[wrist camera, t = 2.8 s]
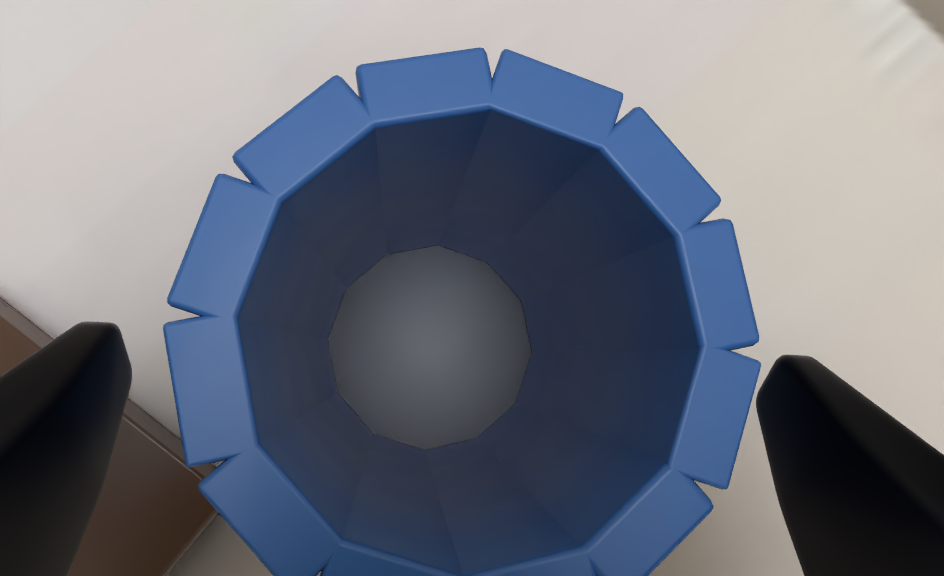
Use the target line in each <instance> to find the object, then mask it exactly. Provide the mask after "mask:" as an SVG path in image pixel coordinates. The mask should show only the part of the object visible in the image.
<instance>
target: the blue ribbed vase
mask: <svg viewBox="0 0 944 576" xmlns="http://www.w3.org/2000/svg"><path fill="white" fill-rule="evenodd" d="M356 79H357V86H358V93H359V97H358V96H357V94H356V93H355V92H354V91H353V90H352V89H351V88H350V86H349V85H348V84H347V83H346V82H345V81H344V80H343V78H341V77H339V76H337V75H336V76H333V77H332V78H330V79H329V80H328V81H327V82H325V83H324V84H323V85H321V86H320V87H319V88H317V89H316V90H315V91H314V92H312V93H311V94H310V95H308V96H307V97H306V98H305V99H303V100H302V101H301V102H299V103H298V104H297V105H296V106H294V107H293V108H292V109H290V110H289V111H288V112H287V113H285V114H284V115H283V116H281V117H280V118H279V119H278V120H276V121H275V122H274V123H272V124H271V125H270V126H269V127H267V128H266V129H265V130H263V131H262V132H261V133H260V134H258V135H257V136H256V137H254V138H253V139H252V140H251V141H249V142H248V143H247V144H245V145H244V146H243V147H242V148H240V149H239V150H238V151H236V152H235V153H234V155H233V160H234V163H235V164H236V165H237V166H238V168H239V169H240V170H241V171H242V172H243V174H244V175H245V176H246V177H247V178H248V180H249V181H250V182H251V183H249V182H246V181H243V180H240V179H237V178H235V177H232V176H229V175H226V174H218V175H217V176H216V178H215V180H214V182H213V185H212V187H211V190H210V193H209V195H208V198H207V200H206V203H205V205H204V208H203V210H202V213H201V215H200V218H199V220H198V223H197V225H196V228H195V230H194V233H193V235H192V238H191V240H190V243H189V245H188V248H187V250H186V253H185V255H184V258H183V260H182V263H181V265H180V268H179V270H178V273H177V275H176V278H175V280H174V283H173V285H172V288H171V290H170V293H169V295H168V298H167V302H168V304H169V305H171V306H172V307H175V308H178V309H181V310H184V311H187V312H190V313H193V314H196V315H199V317H194V318H189V319H183V320H178V321H173V322H167V323H166V324H164V326H163V331H164V337H165V343H166V349H167V355H168V361H169V367H170V373H171V379H172V385H173V391H174V397H175V403H176V409H177V415H178V421H179V427H180V434H181V440H182V446H183V452H184V458H185V463H186V465H187V467H195V466H200V465H205V464H209V463H214V462H219V461H223V460H225V461H224V462H223V463H221V464H220V465H219V466H218V467H217V468H216V469H215V470H213V471H212V472H211V473H210V474H209V475H208V476H206V477H205V478H204V479H203V480H202V481H201V482H200V483H199V485H198V488H199V491H200V492H201V493H202V495H203V496H204V497H205V498H206V499H207V500H208V501H209V503H210V504H211V505H212V506H213V507H214V508H215V509H216V511H217V512H218V513H219V514H220V515H221V516H222V517H223V519H224V520H225V521H226V522H227V523H228V524H229V525H230V527H231V528H232V529H233V530H234V531H235V532H236V533H237V535H238V536H239V537H240V538H241V539H242V540H243V541H244V543H245V544H246V545H247V546H248V547H249V548H250V549H251V551H252V552H253V553H254V554H255V555H256V556H257V557H258V559H259V560H260V561H261V562H262V563H263V564H264V565H265V567H266V568H267V569H268V570H269V571H270V572H271V573H272V575H273V576H316V575H317V574H318V573H319V572H320V571H321V574H320V576H648V575H649V574H650V573H651V572H652V571H653V570H654V569H655V568H656V567H657V566H658V565H659V564H660V563H661V562H662V561H663V560H664V559H665V558H666V557H667V556H668V555H669V554H670V553H671V552H672V551H673V550H674V549H675V548H676V547H677V546H678V545H679V544H680V543H681V542H682V541H683V540H684V539H685V538H686V537H687V536H688V535H689V534H690V533H691V532H692V531H693V529H694V528H695V527H696V526H697V525H698V524H699V523H700V522H701V521H702V520H703V519H704V518H705V517H706V516H707V515H708V514H709V513H710V512H711V511H712V509H713V505H712V502H711V500H710V499H709V497H708V496H707V495H706V494H705V493H704V492H703V491H702V489H701V488H700V487H699V486H698V485H697V484H696V483H695V481H698V482H701V483H704V484H707V485H710V486H713V487H716V488H719V489H727V488H728V486H729V482H730V478H731V475H732V471H733V467H734V463H735V460H736V456H737V452H738V449H739V445H740V441H741V438H742V434H743V430H744V426H745V423H746V419H747V415H748V412H749V408H750V404H751V401H752V397H753V393H754V389H755V386H756V382H757V378H758V375H759V371H760V367H761V363H760V362H759V361H758V360H755V359H752V358H750V357H747V356H744V355H741V354H738V353H735V352H732V351H730V350H735V349H740V348H744V347H749V346H753V345H754V344H756V343H757V342H759V334H758V330H757V325H756V321H755V317H754V312H753V308H752V304H751V300H750V295H749V291H748V287H747V283H746V278H745V274H744V270H743V266H742V261H741V257H740V253H739V249H738V244H737V240H736V236H735V232H734V227H733V224H732V222H731V220H727V219H718V220H713V221H708V222H702V223H700V222H701V221H702V220H704V219H705V218H706V217H707V216H708V215H709V214H710V213H711V212H712V211H713V210H714V209H715V208H717V207H718V206H719V204H720V202H721V199H720V197H719V195H718V194H717V193H716V192H715V191H714V190H713V189H712V187H711V186H710V185H709V184H708V183H707V182H706V181H705V179H704V178H703V177H702V176H701V175H700V174H699V173H698V171H697V170H696V169H695V168H694V167H693V166H692V165H691V163H690V162H689V161H688V160H687V159H686V158H685V157H684V155H683V154H682V153H681V152H680V151H679V150H678V149H677V147H676V146H675V145H674V144H673V143H672V142H671V141H670V139H669V138H668V137H667V136H666V135H665V134H664V133H663V131H662V130H661V129H660V128H659V127H658V126H657V125H656V123H655V122H654V121H653V120H652V119H651V118H650V117H649V115H648V114H647V113H646V112H645V111H644V110H643V109H642V108H641V107H636V108H633V109H632V110H631V111H630V112H629V113H628V114H626V115H625V116H624V117H623V118H622V119H621V120H619V121H618V122H617V123H616V124H615V122H616V119H617V116H618V113H619V110H620V107H621V103H622V100H623V94H622V93H621V92H619V91H616V90H614V89H611V88H608V87H606V86H603V85H600V84H598V83H595V82H593V81H590V80H587V79H585V78H582V77H579V76H577V75H574V74H571V73H569V72H566V71H563V70H561V69H558V68H555V67H553V66H550V65H547V64H545V63H542V62H539V61H537V60H534V59H532V58H529V57H526V56H524V55H521V54H518V53H516V52H513V51H510V50H508V49H504V50H503V51H502V52H501V55H500V58H499V61H498V64H497V67H496V69H495V72H494V75H493V78H492V77H491V72H490V67H489V62H488V58H487V53H486V52H485V50H484V48H474V49H467V50H460V51H453V52H446V53H439V54H432V55H425V56H418V57H411V58H404V59H397V60H390V61H383V62H376V63H369V64H362V65H360V66H357V68H356ZM435 245H440V246H442V247H445V248H448V249H451V250H454V251H457V252H460V253H462V254H465V255H468V256H471V257H474V258H477V259H480V260H482V261H485V262H488V263H489V265H490V266H491V267H492V268H493V269H494V270H495V271H496V273H497V274H498V275H499V276H500V277H501V278H502V279H503V281H504V282H505V283H506V284H507V285H508V286H509V287H510V289H511V290H512V291H513V292H514V293H515V294H516V295H517V297H518V298H519V299H520V300H521V301H522V306H523V310H524V315H525V320H526V325H527V330H528V334H529V339H530V344H531V349H532V353H531V357H530V360H529V363H528V366H527V369H526V372H525V375H524V378H523V382H522V385H521V388H520V391H519V394H518V397H517V400H516V403H515V404H514V405H513V406H512V407H511V408H510V409H508V410H507V411H506V412H505V413H504V414H503V415H502V416H501V417H500V418H499V419H498V420H497V421H495V422H494V423H493V424H492V425H491V426H490V427H489V428H488V429H487V430H486V431H485V432H484V433H482V434H481V435H480V436H479V437H478V438H476V439H472V440H467V441H463V442H459V443H454V444H450V445H445V446H441V447H436V448H432V449H427V450H423V449H420V448H417V447H413V446H410V445H407V444H404V443H401V442H398V441H395V440H392V439H389V438H386V437H383V436H380V435H377V434H373V433H372V431H371V430H370V429H369V428H368V427H367V426H366V425H365V423H364V422H363V421H362V420H361V419H360V418H359V417H358V415H357V414H356V413H355V412H354V411H353V410H352V409H351V407H350V406H349V405H348V404H347V403H346V402H345V401H344V399H343V398H342V397H341V396H340V395H339V394H338V392H337V387H336V382H335V376H334V371H333V365H332V360H331V354H330V349H329V344H328V337H329V334H330V331H331V329H332V326H333V323H334V320H335V317H336V315H337V312H338V309H339V306H340V304H341V301H342V298H343V295H344V293H345V290H346V288H347V287H348V286H350V285H351V284H352V283H353V282H354V281H356V280H357V279H358V278H359V277H360V276H361V275H363V274H364V273H365V272H366V271H367V270H369V269H370V268H371V267H372V266H373V265H375V264H376V263H377V262H378V261H379V260H380V259H382V258H383V257H384V256H385V255H386V254H391V253H397V252H402V251H407V250H413V249H418V248H424V247H429V246H435ZM694 480H695V481H694Z"/></svg>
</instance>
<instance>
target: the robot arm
mask: <svg viewBox="0 0 944 576" xmlns="http://www.w3.org/2000/svg"><path fill="white" fill-rule="evenodd" d="M131 380H132V368H131V364H130V361H129V357H128V354H127V351H126V348H125V344H124V341H123V338H122V334H121V332H120V329H119V328H118V326H117V325H115V324H113V323H108V322H81V323H79V324H77V325H75V326H73V327H72V328H70V329H69V330H68V331H66V332H65V333H63V334H62V335H60V336H59V337H57V338H56V339H54V340H53V341H51V342H50V343H49V344H47V345H46V346H44V347H43V348H41V349H40V350H38V351H37V352H35V353H34V354H32V355H31V356H29V357H28V358H27V359H25V360H24V361H22V362H21V363H19V364H18V365H16V366H15V367H13V368H12V369H10V370H9V371H7V372H6V373H5V374H3V375H2V376H0V576H67V575H68V573H69V570H70V568H71V566H72V563H73V561H74V558H75V556H76V553H77V551H78V548H79V546H80V543H81V541H82V539H83V536H84V534H85V531H86V529H87V526H88V524H89V521H90V519H91V516H92V514H93V511H94V509H95V506H96V504H97V501H98V498H99V496H100V493H101V490H102V487H103V484H104V480H105V477H106V474H107V470H108V467H109V463H110V459H111V456H112V452H113V448H114V445H115V441H116V437H117V434H118V430H119V426H120V423H121V419H122V415H123V412H124V408H125V404H126V401H127V397H128V393H129V390H130V386H131ZM756 408H757V413H758V417H759V422H760V426H761V430H762V434H763V439H764V443H765V447H766V451H767V455H768V460H769V464H770V468H771V472H772V476H773V481H774V485H775V489H776V493H777V496H778V500H779V504H780V507H781V510H782V513H783V516H784V519H785V522H786V525H787V528H788V531H789V534H790V536H791V539H792V542H793V545H794V548H795V550H796V553H797V556H798V559H799V562H800V565H801V567H802V570H803V573H804V576H944V455H943V454H942V453H940V452H939V451H937V450H936V449H935V448H933V447H932V446H931V445H929V444H928V443H927V442H925V441H924V440H923V439H921V438H920V437H919V436H917V435H916V434H915V433H913V432H912V431H911V430H909V429H908V428H907V427H905V426H904V425H903V424H901V423H900V422H899V421H897V420H896V419H895V418H893V417H892V416H891V415H889V414H888V413H887V412H885V411H884V410H883V409H881V408H880V407H879V406H877V405H876V404H874V403H873V402H872V401H870V400H869V399H868V398H866V397H865V396H864V395H862V394H861V393H860V392H858V391H857V390H856V389H854V388H853V387H852V386H850V385H849V384H848V383H846V382H845V381H844V380H842V379H841V378H840V377H838V376H837V375H836V374H834V373H833V372H832V371H830V370H829V369H828V368H826V367H825V366H824V365H822V364H821V363H820V362H818V361H817V360H815V359H814V358H812V357H809V356H802V355H783V356H781V357H779V358H778V359H777V360H776V361H775V363H774V365H773V367H772V368H771V370H770V372H769V374H768V375H767V377H766V379H765V381H764V382H763V384H762V386H761V388H760V389H759V391H758V394H757V398H756Z"/></svg>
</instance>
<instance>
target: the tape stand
mask: <svg viewBox="0 0 944 576" xmlns="http://www.w3.org/2000/svg"><path fill="white" fill-rule="evenodd" d="M51 341H53V339H52V338H50V337H49V336H48V335H47V334H45V333H44V332H43V331H41V330H40V329H39V328H38V327H36V326H35V325H34V324H33V323H31V322H30V321H29V320H28V319H26V318H25V317H24V316H22V315H21V314H20V313H19V312H17V311H16V310H15V309H14V308H12V307H11V306H10V305H9V304H7V303H6V302H5V301H3V300H2V299H1V298H0V376H2V375H3V374H5V373H6V372H7V371H9V370H10V369H12V368H13V367H15V366H16V365H18V364H19V363H21V362H22V361H24V360H25V359H27V358H28V357H29V356H31V355H32V354H34V353H35V352H37V351H38V350H40V349H41V348H43V347H44V346H46V345H47V344H49V343H50V342H51ZM215 469H216V468H215V467H214V466H213V465H211V464H210V463H209V464H205V465H200V466H195V467H187V465H186V463H185V458H184V452H183V446H182V441H181V440H180V439H178V438H177V437H176V436H175V435H173V434H172V433H171V432H169V431H168V430H167V429H166V428H164V427H163V426H162V425H161V424H159V423H158V422H157V421H156V420H154V419H153V418H152V417H150V416H149V415H148V414H147V413H145V412H144V411H143V410H142V409H140V408H139V407H138V406H137V405H135V404H134V403H133V402H131V401H130V400H129V399H128V398H127V401H126V404H125V408H124V412H123V415H122V419H121V423H120V426H119V430H118V434H117V437H116V441H115V445H114V448H113V452H112V456H111V459H110V463H109V467H108V470H107V474H106V477H105V480H104V484H103V487H102V490H101V493H100V496H99V498H98V501H97V504H96V506H95V509H94V511H93V514H92V516H91V519H90V521H89V524H88V526H87V529H86V531H85V534H84V536H83V539H82V541H81V543H80V546H79V548H78V551H77V553H76V556H75V558H74V561H73V563H72V566H71V568H70V570H69V573H68V575H67V576H167V575H168V573H169V572H170V571H171V570H172V569H173V567H174V566H175V565H176V564H177V563H178V561H179V560H180V559H181V558H182V556H183V555H184V554H185V553H186V552H187V550H188V549H189V548H190V547H191V546H192V544H193V543H194V542H195V541H196V539H197V538H198V537H199V536H200V535H201V533H202V532H203V531H204V530H205V528H206V527H207V526H208V525H209V524H210V522H211V521H212V520H213V519H214V518H215V516H216V515H217V514H218V512H217V511H216V509H215V508H214V507H213V506H212V505H211V504H210V503H209V501H208V500H207V499H206V498H205V497H204V496H203V495H202V493H201V492H200V491H199V488H198V485H199V483H200V482H201V481H202V480H203V479H204V478H205V477H206V476H208V475H209V474H210V473H211V472H212V471H213V470H215Z"/></svg>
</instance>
